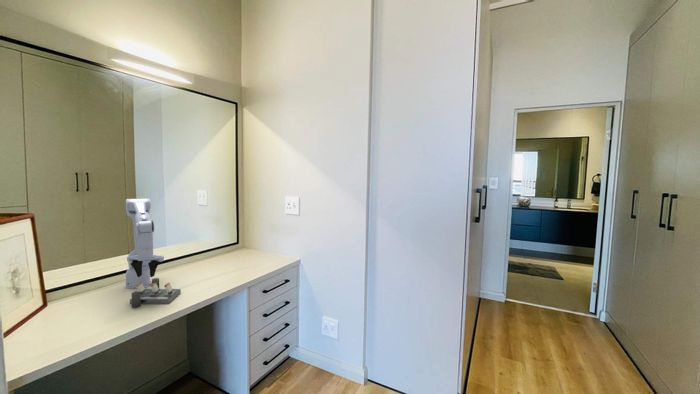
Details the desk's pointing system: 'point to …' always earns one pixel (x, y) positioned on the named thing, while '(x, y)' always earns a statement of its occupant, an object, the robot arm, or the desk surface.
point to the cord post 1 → (136, 299)
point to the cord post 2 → (156, 281)
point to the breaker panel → (157, 296)
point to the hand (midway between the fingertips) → (146, 276)
